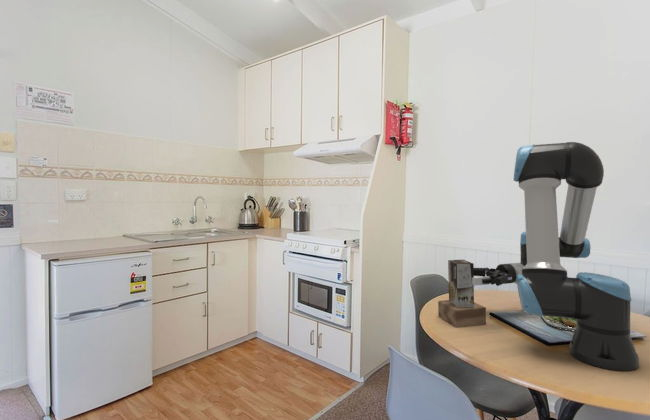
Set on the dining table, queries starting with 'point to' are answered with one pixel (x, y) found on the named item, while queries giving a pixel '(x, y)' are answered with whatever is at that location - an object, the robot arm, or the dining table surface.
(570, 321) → the salad plate
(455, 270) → the coffee box
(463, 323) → the walnut stand
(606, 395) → the dining table surface
